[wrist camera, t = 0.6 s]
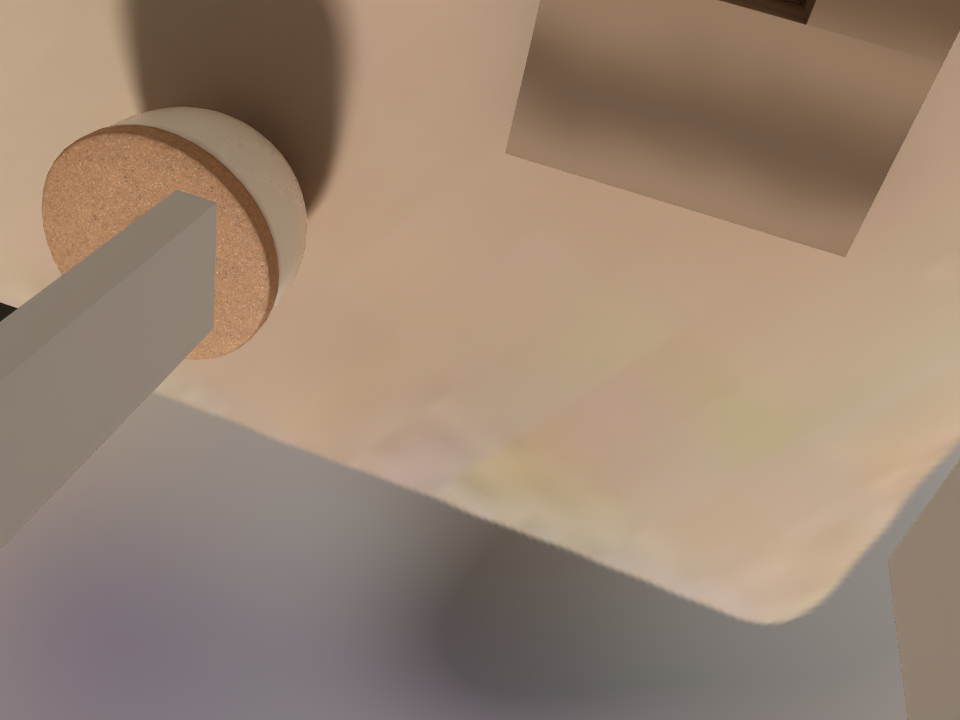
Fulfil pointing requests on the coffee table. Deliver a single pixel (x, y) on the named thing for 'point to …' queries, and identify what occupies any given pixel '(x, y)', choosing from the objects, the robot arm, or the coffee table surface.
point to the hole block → (734, 103)
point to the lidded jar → (195, 170)
